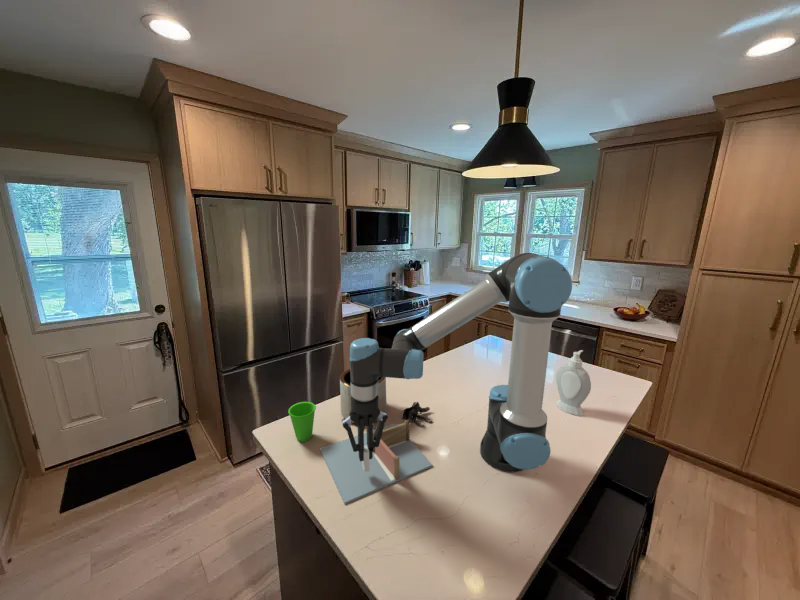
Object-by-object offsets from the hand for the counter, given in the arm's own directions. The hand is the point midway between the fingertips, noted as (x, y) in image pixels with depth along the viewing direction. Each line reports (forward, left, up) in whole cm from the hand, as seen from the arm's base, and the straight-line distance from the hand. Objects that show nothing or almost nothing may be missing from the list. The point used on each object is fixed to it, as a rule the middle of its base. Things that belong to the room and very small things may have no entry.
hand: (365, 468), depth 93 cm
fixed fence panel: (+8, -13, -3) cm, 15 cm away
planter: (+31, -12, -4) cm, 34 cm away
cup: (+27, +12, -3) cm, 30 cm away
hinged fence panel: (0, -7, -2) cm, 7 cm away
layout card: (+6, -5, -3) cm, 9 cm away
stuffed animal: (+19, -29, -4) cm, 35 cm away
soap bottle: (-7, -85, -3) cm, 86 cm away
